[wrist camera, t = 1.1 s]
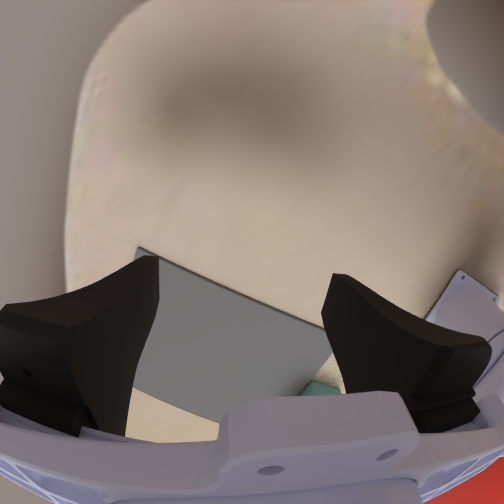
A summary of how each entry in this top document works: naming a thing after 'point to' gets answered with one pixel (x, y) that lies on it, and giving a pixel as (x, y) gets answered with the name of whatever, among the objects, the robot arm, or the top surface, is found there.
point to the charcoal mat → (222, 347)
